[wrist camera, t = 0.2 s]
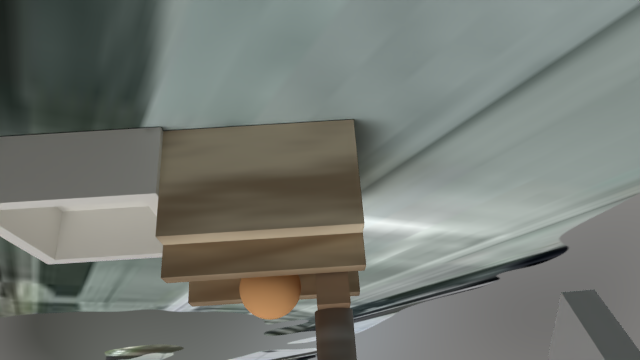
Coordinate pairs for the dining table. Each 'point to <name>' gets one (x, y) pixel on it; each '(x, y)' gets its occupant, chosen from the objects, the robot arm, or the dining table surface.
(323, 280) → the plunger
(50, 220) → the tray
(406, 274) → the dining table surface
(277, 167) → the launcher
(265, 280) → the ball
